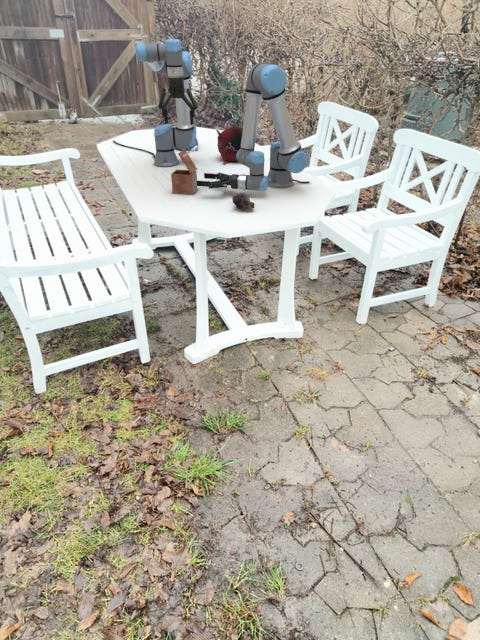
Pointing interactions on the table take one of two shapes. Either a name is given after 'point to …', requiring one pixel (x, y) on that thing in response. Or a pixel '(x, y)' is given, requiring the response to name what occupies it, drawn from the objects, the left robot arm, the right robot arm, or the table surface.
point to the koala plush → (188, 147)
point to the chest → (184, 182)
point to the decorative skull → (229, 143)
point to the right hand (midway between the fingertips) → (200, 179)
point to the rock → (242, 201)
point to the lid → (188, 159)
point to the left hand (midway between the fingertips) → (179, 123)
